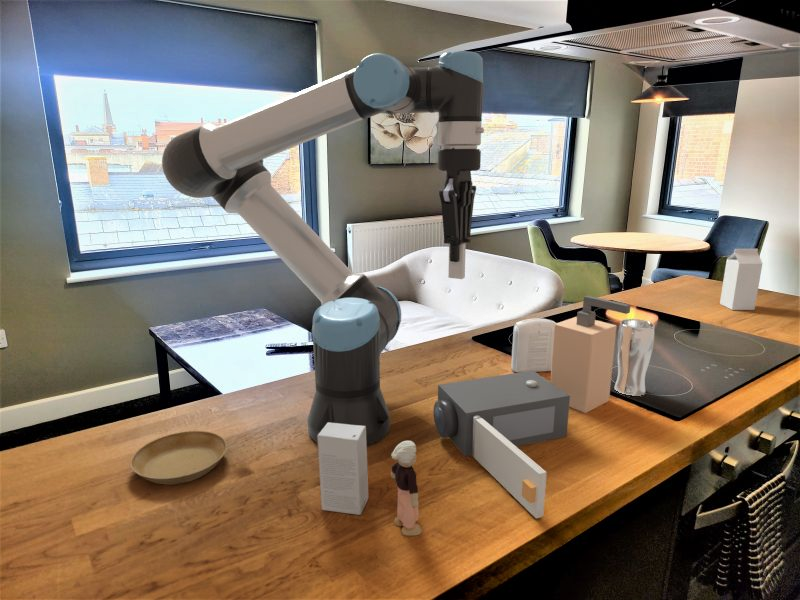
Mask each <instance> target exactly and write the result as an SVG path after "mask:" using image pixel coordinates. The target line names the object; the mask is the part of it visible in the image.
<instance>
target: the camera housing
mask: <svg viewBox="0 0 800 600" xmlns="http://www.w3.org/2000/svg"><path fill="white" fill-rule="evenodd" d="M569 402H570V395H568V394H567V393H565V392H564V391H562V390H561V389H560V388H558V387H557V386H555V385H554V384H552V383H551V381H550V380H548V379H546V378H545V377H543V376H542V375H540V373H538V372H535V371H526V372H515V373H514V372H512V373H506V374H501V375H494V376H488V377H487V376H486V377H479V378H474V379H473V378H472V379H465V380H459V381H454V382H453V381H452V382H446V383H439V384H437V401H435V402H434V405H433V422H434V426H435V430H436V431H437V433H438V435H439V437H441V438H442V439H446V438H447V439H449V440H450V441H451V440H452V443H453V445H455V446H456V448H457V449H458V450H459V451H460V452H461V454H462V455H463V456H464V457H468V456H472V442H473V417H474V416H476V415H477V416H480V417H481V418H483V419H484V420H485V421H486V422H487V423H489V424H490V425H491V426H492V427H493V428H495V429H496V430H497V431H498V432H499V433H500V434H502V435H503V436H504V437H505V438H506V439H508V440H509V441H510V442H511V443H512V444H514V445H515V446H516V447H520V446H525V445H530V444H535V443H542V442H546V441H551V440H556V439H561V438H567V436H568V423H569V413H570V412H569V411H570V407H569Z"/></svg>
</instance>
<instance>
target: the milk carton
mask: <svg viewBox="0 0 800 600" xmlns="http://www.w3.org/2000/svg"><path fill="white" fill-rule="evenodd" d="M762 270H763V262H762V258H761V257H760V255H759V249H758V248H734V251H733V253H732V254H731V255H729V256H728V257H727V258H726V263H725V268H724V273H723V282H722V288H721V293H720V300H719V304H720V305H722V306H724V307H725V308H728V309H729V310H731V311H755V309H756V303H757V298H758V292H759V285H760V281H761V274H762Z"/></svg>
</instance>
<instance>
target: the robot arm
mask: <svg viewBox="0 0 800 600" xmlns="http://www.w3.org/2000/svg"><path fill="white" fill-rule="evenodd" d="M483 95H484V59H483V57H482V56H481V55H480V54H479V52H475V51H466V50H465V51H463V50H459V51H457V50H455V51H451V52H444V53H442V54H441V55H439V61H438V63H437V65H435V66H430V67H429V66H426V67H425V66H422V67H409V66H408V65H406V64H404V63H403V62H402V61H401V60H399V59H398V58H396V57H395V56H392V55H390V54H387V53H386V54H385V53H372V54H369V55H367V56H366V57H364V58H362V59H361V61H359V63H358V65H357V66H356V67H355V68H352V69H350V70H348V71H345V72H343V73H341V74H339V75H336V76H333V77H332V78H329V79H326V80H324V81H322V82H320V83H317V84H315V85H312V86H310V87H308V88H305V89H302V90H301V91H298V92H296V93H294V94H293V93H292V94H291V95H289V96H287V97H284V98H282V99H279V100H277V101H274V102H272V103H270V104H267V105H265V106H263V107H260V108H258V109H255V110H254V111H253V110H252V111H251V112H249V113H246V114H243V115H241V116H239V117H236V118H234V119H231V120H229V121H227V122H225V123H222V124H220V125H218V126H216V125H214V124H212V123H206V124H203V125H201V126H198V127H196V128H194V129H191V130H188V131H186V132H183V133H180V134H179V135H176V136H175V137H173V138H172V139H171V140H170V141H169V142H168V144H167V145H166V146H165V148H164V150H163V152H162V153H163V154H162V158H161V165H162V166H161V167H162V171H163V174H164V177H165V178H166V180H167V182H168V183H169V185H170V186H171V187H172V188H174V190H176V191H177V192H179V193H180V194H182V195H184V196H187V197H191V198H195V199H199V198H200V199H202V198H204V199H205V198H210V197H212V198H213V199H214V200H215V202H217V203H218V205H219V206H220V207H221V208H223V210H224V211H225V212H226V213H228V214H237V215H239V216H240V217H241V218H242V219H243V220H244V221H245V222H246V223H247V224H248V226H250V228H251V229H252V230H253V231H254V232H255V233H256V234H257V236H259V237H260V238H261V240H262V241H264V243H265V244H266V245H267V246H268V247H269V248H270V249H271V250H272V251H273V252H274V253H275V254H276V256H278V257H279V259H281V261H282V262H283V263H284V264H285V265H286V266H287V267H288V268H289V270H290V271H292V272H293V273H294V274H295V276H296V277H298V278H299V280H300V281H301V282H302V283H303V284H304V286H306V287H307V288H308V289H309V291H311V293H312V294H313V295H314V296H315V297H316V298H317V299H318V300H319V301H320V304H321V305H320V306H319V307H317V309H316V310H315V311H314V314H313V316H312V325H311V326H312V327H311V335H312V336H311V337H312V346H313V361H314V364H313V365H314V377H315V378H314V381H315V392H314V397H313V398H312V399H313V400H312V403H311V407H310V409H309V414H308V416H307V432H308V436H309V437H310V438H311V439H312V440H313V441H314V442H316V443H318V440H317V435H318V434H319V433H320V432H321V430H322V429H323V428H324V427H325V425H326V424H327V423H328V422H329V423H339V424H349V425H360V426H366V445H367V446H369V445H372V444H374V443H377V442H379V441H380V440H382V439H383V438H385V437H386V436H387V434H388V433H389V432H390V429H391V416H390V415H391V414H390V412H389V409H388V407H387V406H388V405H387V403H386V401H385V397H384V395H383V393H382V389H381V380H380V379H381V374H380V373H381V372H380V371H381V367H380V366H381V365H380V363H381V361H380V360H381V359H380V358H381V354H382V352H383V351H384V350H385V348H386V347H387V346H388V344H389V343H390V342H391V341H392V340H394V338H395V337H396V335H397V333H398V331H399V329H400V326H401V323H402V308H401V304H400V303H399V300H398V298H397V297H396V296H395V295H394V294H393V292H391V291H390V290H388V288H385V287H383V286H379V285H375V284H374V283H373V282H372V280H370V279H369V277H367V276H366V274H364V273H357V272H356V273H355V272H352V271H351V269H350V268H349V267H348V266H347V265H346V264H345V263H344V261H342V260H341V258H339V257H338V256H337V254H336V253H335V252H334V251H333V250H332V249H331V248H330V247H329V246H328V244H326V243H325V241H323V239H322V238H321V237H320V236H319V235H318V234H317V233H316V232H315V231H314V229H313V228H311V226H310V225H309V224H308V223H307V222H306V221H305V220H304V219H303V218H302V216H300V214H299V213H298V212H296V210H295V209H294V208H293V207H292V206H291V205H290V204H289V203H288V202H287V200H285V199H284V197H283V196H282V195H281V194H280V193H279V192H278V191H277V190H276V189H275V188H274V186H272V173H271V172H270V171H269V170H268V168H266V167H265V165H264V159H267V158H270V157H271V156H274V155H276V154H279V153H282V152H284V151H287V150H290V149H292V148H294V147H296V146H299V145H302V144H305V143H308V142H309V141H312V140H315V139H316V138H319V137H322V136H324V135H327V134H330V133H332V132H334V131H337V130H340V129H342V128H345V127H347V126H349V125H350V126H351V125H352V124H354V123H357V122H360V121H362V120H366V119H368V118H372V117H375V116H376V115H379V114H384V115H385V114H386V115H396V114H399V115H400V114H423V113H430V114H431V113H432V114H434V113H438V129H437V130H438V132H437V145H438V146H441V149H439V150H438V153H437V157H438V158H437V168H438V170H439V171H441V172H443V171H445V172H446V176H445V182H444V189H439V192H438V195H439V200H440V203H441V214H442V215H441V217H442V218H441V219H442V227H443V228H442V229H443V244H446V245H447V244H448V276H447V277H448V279H458V280H463V279H465V278H466V244H467V243H468V244H470V243H471V241H472V238H470V237H471V231H472V221H473V212H474V211H473V210H474V203H475V196H476V192H477V186H476V185H473V181H472V174H471V172H474V171H475V172H477V171H479V170H480V169H481V159H482V158H481V156H482V155H481V153H482V150H480V149H479V148H478V146H481V143H482V134H483V133H484V132H485V129H484V127H482V120H483V118H482V117H483V102H484V101H483V100H484V99H483V98H484V96H483Z"/></svg>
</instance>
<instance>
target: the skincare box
mask: <svg viewBox="0 0 800 600" xmlns="http://www.w3.org/2000/svg"><path fill="white" fill-rule="evenodd" d="M317 440H318V442H317V455H318V467H319V470H318V471H319V485H320V503H321V511H327V512H336V513H345V514H350V515H357V516H358V515H359V516H361V515H362V513H363V511H364V508H365V506H366V504H367V502H368V500H369V482H368V481H369V480H368V478H369V477H368V475H369V473H368V472H369V471H368V451H367V449H368V448H367V447H368V445H366V426H360V425H349V424H339V423H329V422H328V423H327V424H326V425H325V427H324V428H323V429H322V430H321V432H320V433H319V434H318V435H317Z"/></svg>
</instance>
